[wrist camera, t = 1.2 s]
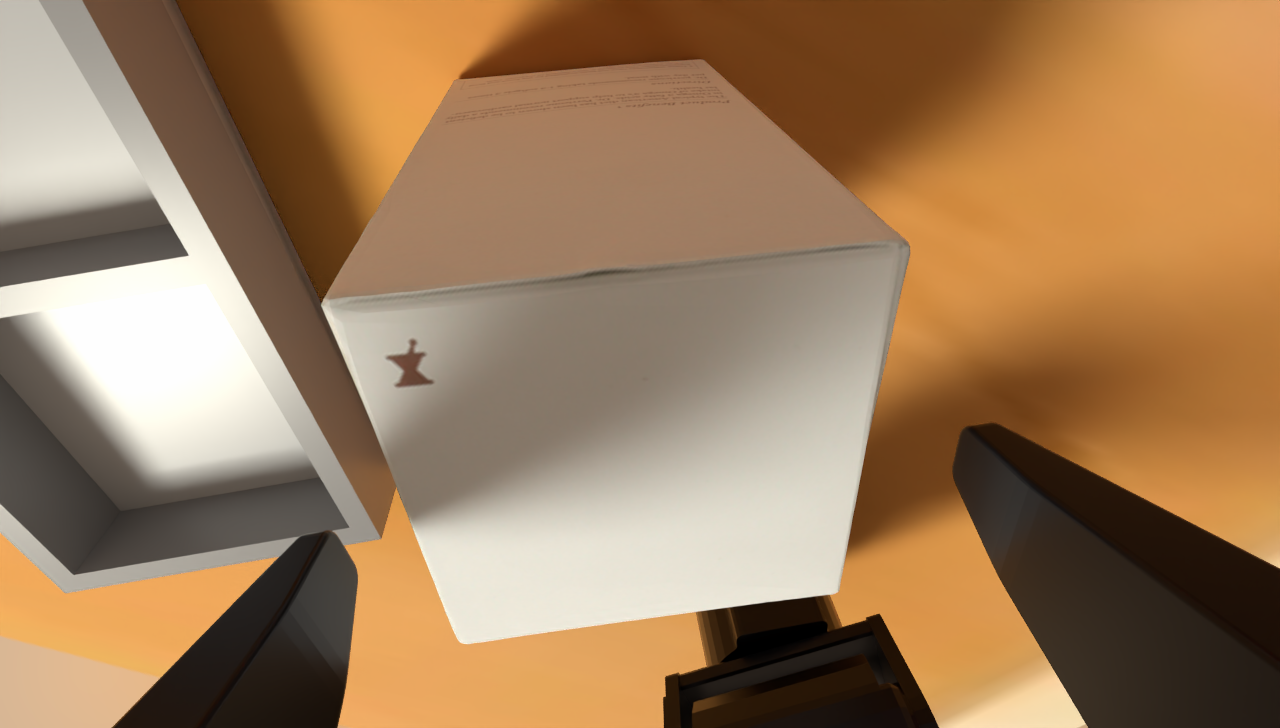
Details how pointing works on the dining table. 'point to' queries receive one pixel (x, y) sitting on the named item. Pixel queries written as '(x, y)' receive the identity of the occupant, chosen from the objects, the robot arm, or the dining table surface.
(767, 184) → the supplement box
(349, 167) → the dining table surface
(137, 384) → the tray
